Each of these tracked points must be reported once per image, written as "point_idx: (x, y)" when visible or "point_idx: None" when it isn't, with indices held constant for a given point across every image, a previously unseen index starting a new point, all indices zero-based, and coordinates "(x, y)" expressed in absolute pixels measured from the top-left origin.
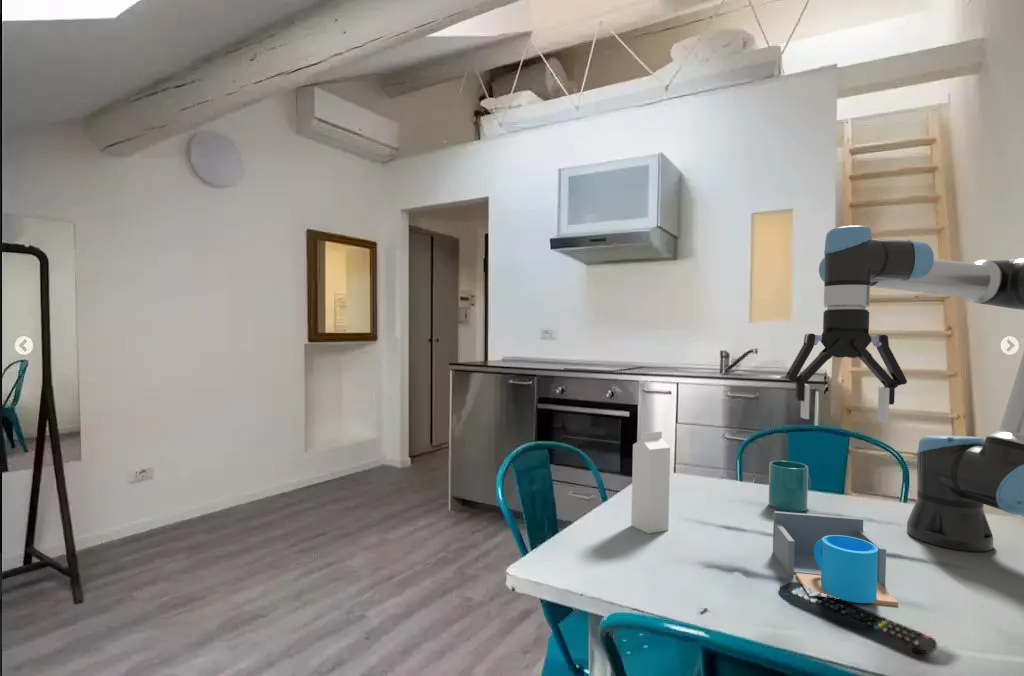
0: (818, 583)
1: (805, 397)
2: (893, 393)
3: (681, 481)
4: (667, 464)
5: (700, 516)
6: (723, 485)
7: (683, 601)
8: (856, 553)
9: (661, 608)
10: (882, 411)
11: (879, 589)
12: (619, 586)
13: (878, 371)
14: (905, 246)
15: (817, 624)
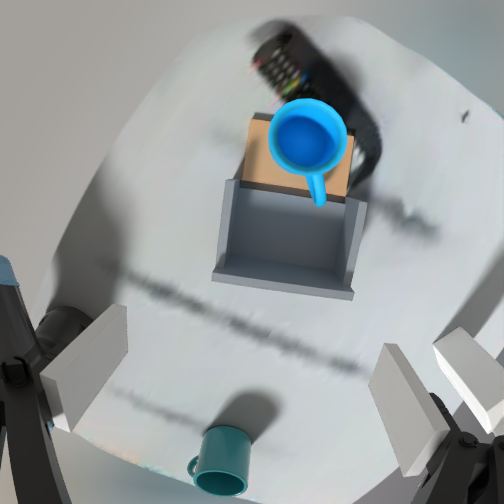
0: None
1: (427, 391)
2: (38, 364)
3: (326, 495)
4: (478, 392)
5: (368, 399)
6: (278, 491)
7: (478, 137)
8: (316, 100)
9: (495, 124)
10: (110, 337)
11: (253, 153)
12: None
13: (38, 454)
14: None
15: (366, 82)
